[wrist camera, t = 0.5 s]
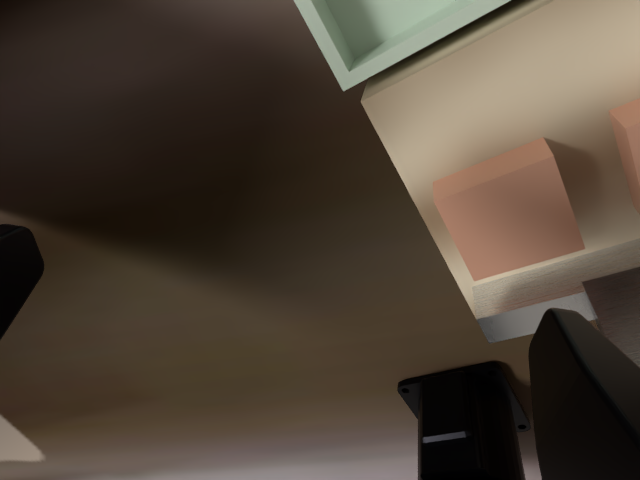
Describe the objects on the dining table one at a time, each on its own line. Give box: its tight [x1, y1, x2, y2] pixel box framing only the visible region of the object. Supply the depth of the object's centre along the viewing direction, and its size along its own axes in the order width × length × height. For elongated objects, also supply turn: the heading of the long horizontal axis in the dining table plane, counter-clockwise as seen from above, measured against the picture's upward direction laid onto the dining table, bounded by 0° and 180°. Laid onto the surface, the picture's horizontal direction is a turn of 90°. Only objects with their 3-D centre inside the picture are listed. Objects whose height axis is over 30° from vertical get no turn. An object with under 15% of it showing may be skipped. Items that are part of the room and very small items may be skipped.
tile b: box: [433, 137, 585, 281], centre depth 16 cm, size 4×4×2 cm
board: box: [361, 0, 640, 320], centre depth 16 cm, size 12×14×3 cm
